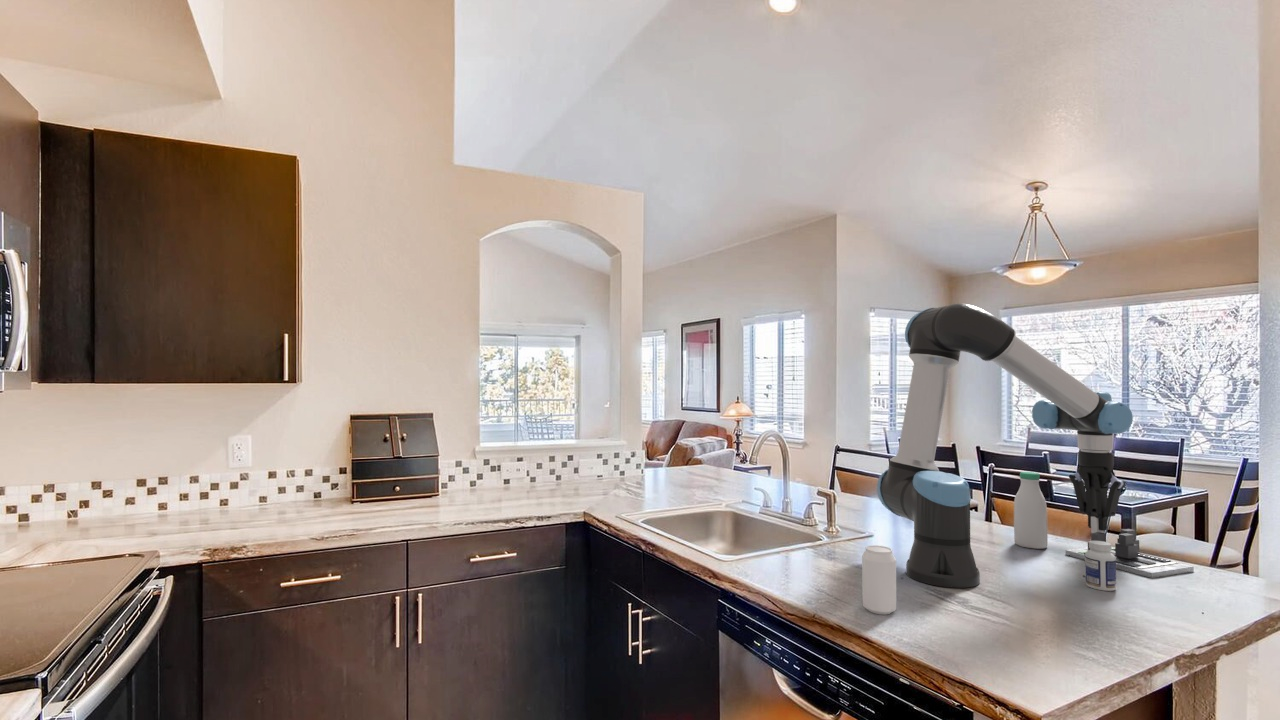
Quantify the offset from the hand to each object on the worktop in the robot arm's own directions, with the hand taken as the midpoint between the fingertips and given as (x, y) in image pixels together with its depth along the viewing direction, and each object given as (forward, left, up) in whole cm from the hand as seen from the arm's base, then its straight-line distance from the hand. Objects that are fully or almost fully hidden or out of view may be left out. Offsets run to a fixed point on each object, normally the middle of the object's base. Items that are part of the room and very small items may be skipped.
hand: (1097, 541), depth 159 cm
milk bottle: (-8, +12, -4) cm, 15 cm away
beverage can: (-81, -13, -4) cm, 82 cm away
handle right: (+5, -4, -2) cm, 7 cm away
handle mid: (0, -7, -2) cm, 7 cm away
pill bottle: (-25, -17, -4) cm, 31 cm away
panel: (0, -7, -3) cm, 8 cm away
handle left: (-6, -4, -2) cm, 7 cm away
